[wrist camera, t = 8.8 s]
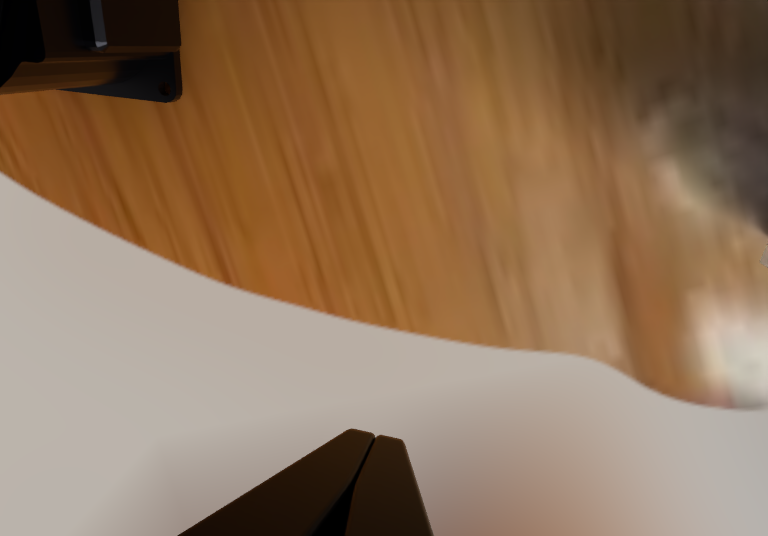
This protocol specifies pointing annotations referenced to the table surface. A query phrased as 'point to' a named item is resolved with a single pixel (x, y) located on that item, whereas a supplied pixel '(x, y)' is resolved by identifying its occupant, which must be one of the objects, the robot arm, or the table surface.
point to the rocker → (765, 257)
